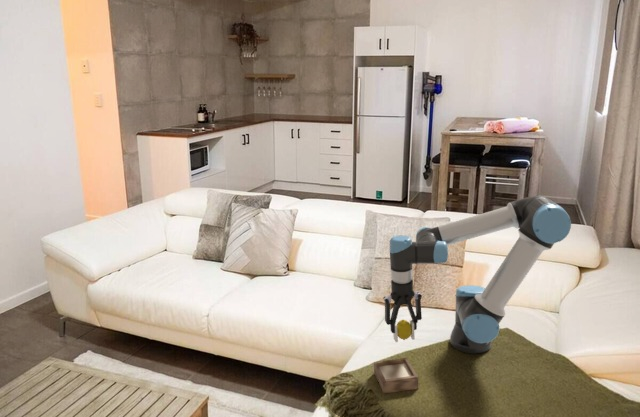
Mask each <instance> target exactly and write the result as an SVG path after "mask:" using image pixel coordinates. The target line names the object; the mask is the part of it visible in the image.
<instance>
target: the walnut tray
mask: <svg viewBox="0 0 640 417" xmlns="http://www.w3.org/2000/svg"><path fill="white" fill-rule="evenodd" d="M374 373H375V374H374ZM373 374H374V375H376V376H375V379H376V381H377V382H379V383H378V384H379V387H380V389H381V391H382V393H383V394H390V393H396V392H405V391H410V390H418V389H419V376H418V374H417V372H416V370H415V369H414V367H413V366H412V364H411V362H410V361H409V359H408V358H407V357H404V358H395V359H387V360H386V359H385V360H380V361H373Z"/></svg>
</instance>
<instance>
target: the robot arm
mask: <svg viewBox="0 0 640 417" xmlns="http://www.w3.org/2000/svg"><path fill="white" fill-rule="evenodd" d="M511 228H514V229H518V230H517V231H518V235H519V237H518V239H517V240H516V242H515V243H514V245H513V246H512V248H511V249H510V251H509V252H508V254H507V255H506V256H505V258H504V259H503V261H502V263H501V264H500V266H499V267H498V269H497V270H496V272H495V273H494V275H493V276H492V278H491V279H490V281H489V282H488V284H487V285H486V287H483V286H480V285H471V284H470V285H469V284H468V285H462V286H458V287H457V288H456V290H455V295H454V296H455V313H454V315H455V320H454V322H455V323H454V325H453V328H452V330H451V333H450V337H449V339H450V341H449V343H450V344H451V347H453V348H454V349H455V348H456V349H455V350H457V351H460V352H462V353H467V354H483V353H485V352H488V351H489V350H490V349H491V347H492V341H494V340H495V339H496V338H497V337H498V336H499V332H500V323H501V321H502V320H503V318H504V317H505V316H506V311H505V307H506V305H507V304H508V303H509V301H510V300H511V298H512V297H513V296H514V294H515V293H516V291H517V290H518V288H519V287H520V285H521V284H522V282H523V281H524V279H525V278H526V277H527V275H528V273H529V272H530V271H531V270H532V268H533V266H534V265H535V263H536V262H537V261H538V260H539V258H540V256H541V255H542V253H543V252H545V251H549V250H551V249H552V248H553V246H554V245H555V244H556V243H560V242H561V241H564V239H565V238H567V236H568V235H569V233H570V231H571V229H572V220H571V218H570V215H569V214H568V212H567V211H566V210H565V208H564V207H562V206H561V205H560V204H558V203H556V202H555V200H553V199H551V198H550V197H547V196H544V195H532V196H528V197H524V198H520V199H516V200H513V201H511V202H508V203H507V204H506V206H503V207H500V208H497V209H494V210H490V211H489V210H488V211H486V212H483V213H480V214H476V215H472V216H470V217H467V218H464V219H459V220H456V221H452V222H449V223H446V224H443V225H439V226H436V227H429V226H424V227H423V226H422V228H419V229H418V231H417V232H416V236H415V241H412V240H413V239H412V238H411V237H410V236H409V235H401V234H400V235H396V236H395V235H394V236H393V237H391V238H390V240H389V260H390V279H391V280H390V283H391V284H390V285H391V286H390V287H391V293H390V295H389V296H383V298H382V299H383V301H384V322H385V323H386V325H387V326H388V325H390V332H391V334H392V336H393V340H394V341H395V343H398V342H399V340H398V338H399V337H398V333H397V323H396V322H397V319H398V313H399V310H400V308H401V306H403V305H405V306H407V310H408V312H409V315H410V317H411V319H409V323H410V325H411V329H412V331H411V335H410V337H409V338H411V340H415V331H416V330H417V329H418V328H417V327H418V324H417V323H419V322H418V321H421V320H422V318H423V317H422V307H421V306H422V304H421V299H422V298H423V295H422V294H421V293H420V292H419V291H416V292H415V291H414V283H413V282H414V281H413V278H414V276H413V265H417V264H418V265H419V264H423V265H424V264H427V265H428V264H435V265H436V264H437V265H438V264H444V263H445V264H446V263H447V262H448V259H449V250H448V246H449V245H453V244H457V243H460V242H463V241H467V240H472V239H475V238H478V237H482V236H485V235H488V234H492V233H497V232H500V231H503V230H506V229H511ZM413 298H414V304H415V312H414V309H413V304H412V300H413ZM392 301H393V307H392V311H391V302H392Z"/></svg>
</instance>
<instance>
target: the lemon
mask: <svg viewBox="0 0 640 417" xmlns="http://www.w3.org/2000/svg"><path fill="white" fill-rule="evenodd" d="M396 324H397V333H398V338H400V339H401V340H403V341H405V340H408V339H409V338H411V337H410V335H411V331H412V329H411V325H410V321H408V320H405V319H401V320H399V321H397V323H396Z"/></svg>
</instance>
